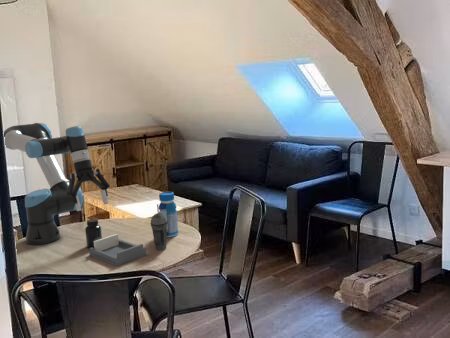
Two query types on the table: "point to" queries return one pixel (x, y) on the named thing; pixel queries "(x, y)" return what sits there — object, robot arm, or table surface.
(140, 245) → the pusher lane
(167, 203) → the beverage bottle
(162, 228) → the beverage cup
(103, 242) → the plate
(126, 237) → the table surface
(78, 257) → the table surface
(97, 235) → the supplement bottle
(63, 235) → the table surface
